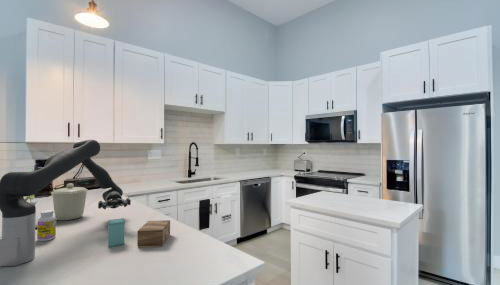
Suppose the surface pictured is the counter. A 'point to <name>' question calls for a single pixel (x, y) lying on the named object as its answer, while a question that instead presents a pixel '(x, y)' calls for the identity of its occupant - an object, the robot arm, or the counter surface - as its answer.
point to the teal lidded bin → (116, 232)
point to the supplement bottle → (46, 226)
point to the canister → (69, 202)
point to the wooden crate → (153, 233)
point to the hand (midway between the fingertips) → (115, 206)
